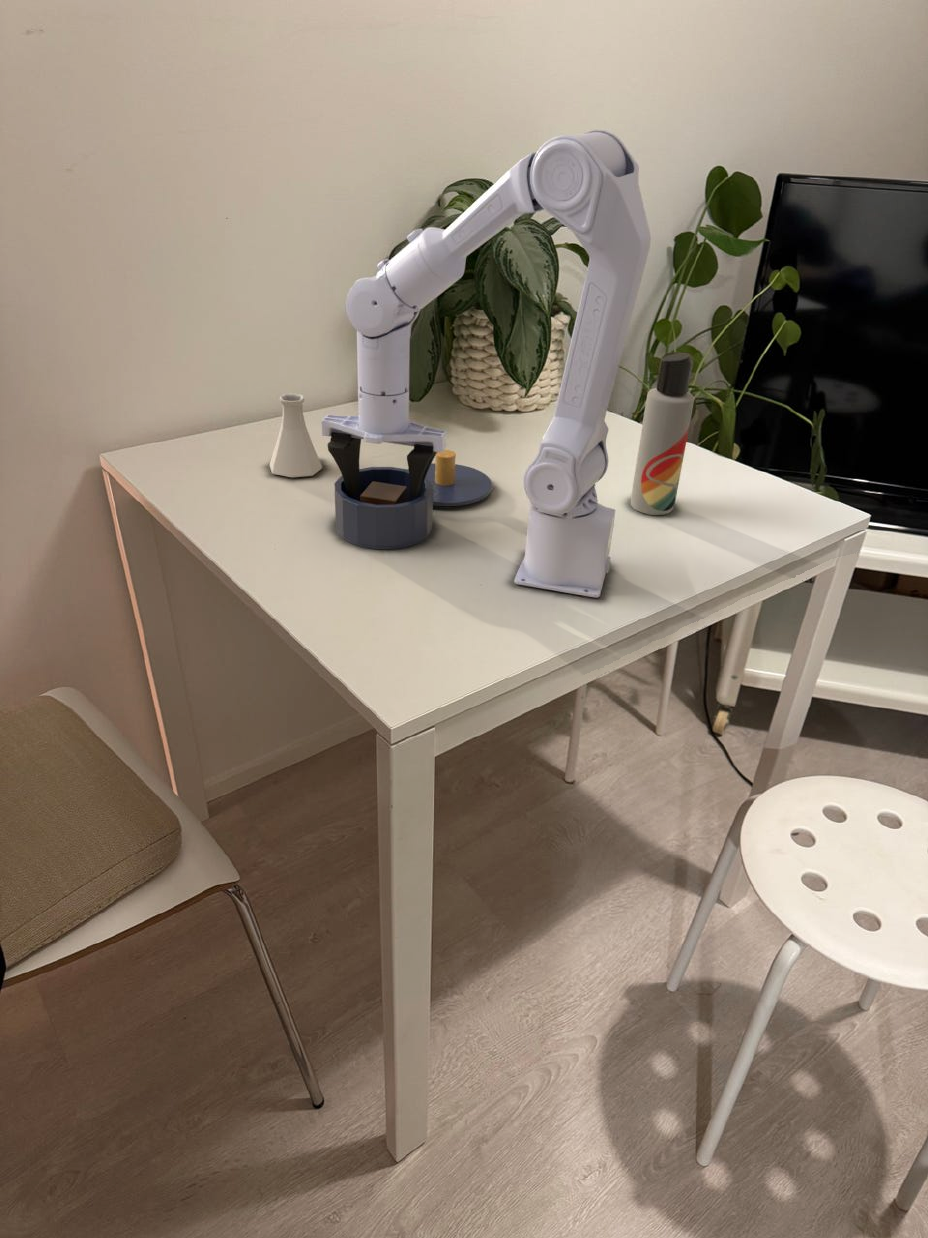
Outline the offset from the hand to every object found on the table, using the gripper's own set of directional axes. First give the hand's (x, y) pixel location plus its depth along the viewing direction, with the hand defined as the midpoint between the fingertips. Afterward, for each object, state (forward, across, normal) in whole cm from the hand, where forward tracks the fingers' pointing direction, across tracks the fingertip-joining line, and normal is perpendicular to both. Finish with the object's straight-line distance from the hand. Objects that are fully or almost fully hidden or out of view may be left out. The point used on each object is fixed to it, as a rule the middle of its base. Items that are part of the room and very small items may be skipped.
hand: (384, 498), depth 108 cm
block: (+3, 0, 0) cm, 3 cm away
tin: (+4, 0, 0) cm, 4 cm away
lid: (+3, +4, +13) cm, 14 cm away
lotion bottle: (+4, +31, +18) cm, 36 cm away
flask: (+4, -17, +12) cm, 21 cm away
